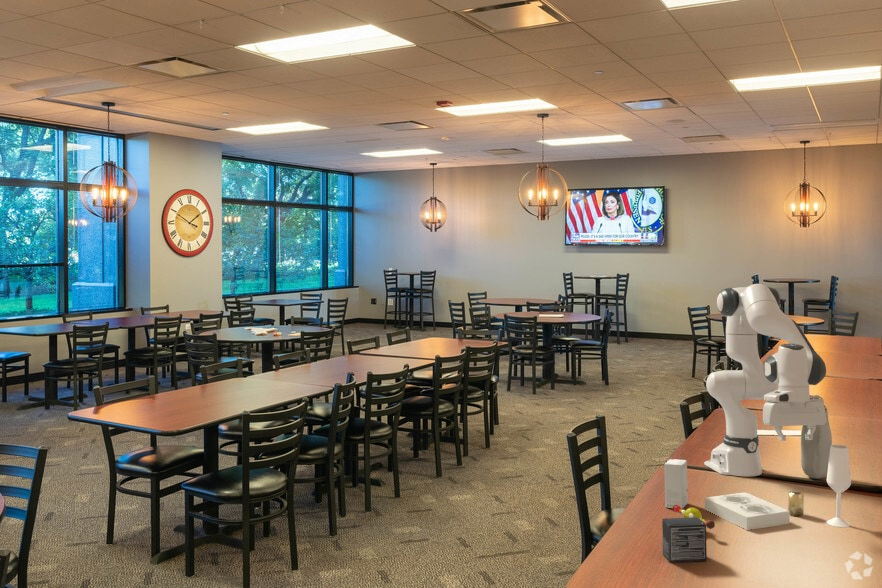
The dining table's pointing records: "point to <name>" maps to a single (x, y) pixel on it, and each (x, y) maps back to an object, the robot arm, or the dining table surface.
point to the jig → (747, 511)
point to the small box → (684, 539)
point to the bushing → (796, 503)
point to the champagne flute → (838, 479)
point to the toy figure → (693, 515)
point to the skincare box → (676, 483)
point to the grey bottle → (816, 450)
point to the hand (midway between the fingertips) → (795, 440)
